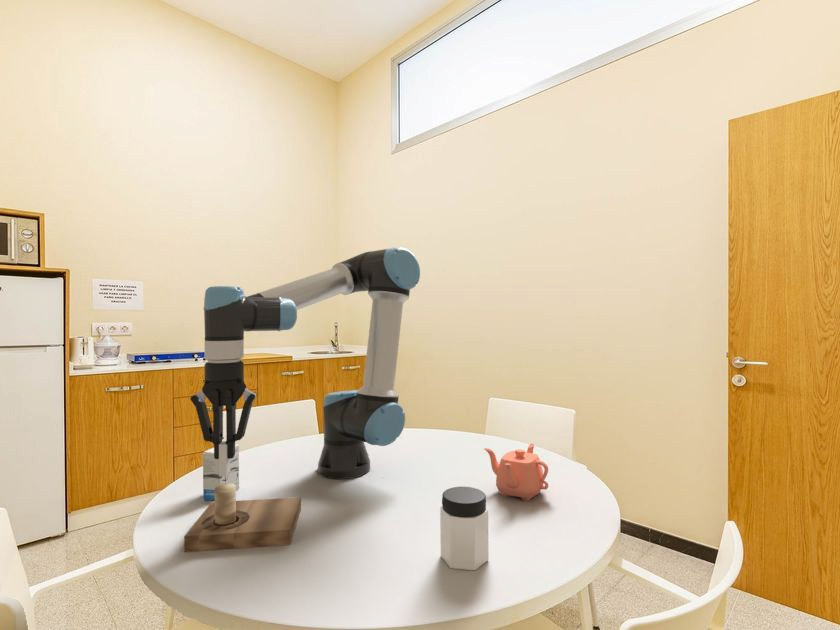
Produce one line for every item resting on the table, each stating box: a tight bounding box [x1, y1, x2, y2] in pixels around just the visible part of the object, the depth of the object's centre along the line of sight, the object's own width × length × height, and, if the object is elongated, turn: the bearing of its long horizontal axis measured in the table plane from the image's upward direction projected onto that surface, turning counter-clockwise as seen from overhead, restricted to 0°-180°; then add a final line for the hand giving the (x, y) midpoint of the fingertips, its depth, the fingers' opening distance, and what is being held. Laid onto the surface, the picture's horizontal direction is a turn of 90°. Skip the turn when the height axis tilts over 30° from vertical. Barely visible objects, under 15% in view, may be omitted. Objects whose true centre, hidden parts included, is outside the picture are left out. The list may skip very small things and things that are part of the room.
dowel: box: [214, 483, 237, 526], centre depth 94 cm, size 4×4×10 cm
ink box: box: [202, 443, 240, 501], centre depth 116 cm, size 9×5×12 cm, turn 168°
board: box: [183, 496, 302, 553], centre depth 97 cm, size 20×16×3 cm
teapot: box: [483, 443, 549, 502], centre depth 115 cm, size 14×14×11 cm
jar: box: [439, 486, 490, 571], centre depth 85 cm, size 9×8×12 cm
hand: (224, 473), depth 94 cm, fingers closed
